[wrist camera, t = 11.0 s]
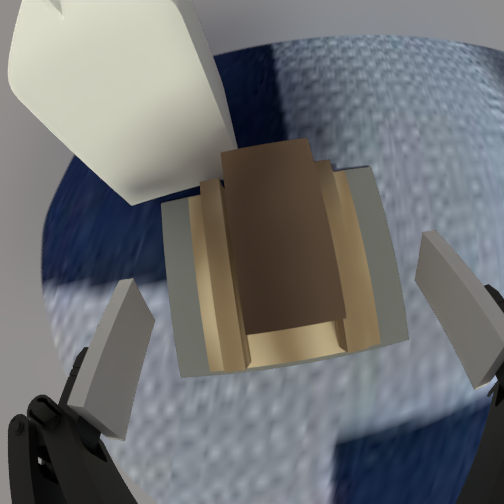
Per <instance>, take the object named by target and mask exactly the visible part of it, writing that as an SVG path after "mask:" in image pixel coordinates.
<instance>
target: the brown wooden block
mask: <svg viewBox="0 0 504 504" xmlns="http://www.w3.org/2000/svg"><path fill="white" fill-rule="evenodd" d="M220 154H221V162H222V170H223V178H224V185H225V193H226V201H227V208H228V216H229V223H230V231H231V238H232V245H233V252H234V259H235V266H236V273H237V280H238V287H239V294H240V301H241V308H242V314H243V321H244V328H245V334H246V335H252V334H259V333H266V332H273V331H279V330H285V329H291V328H297V327H303V326H309V325H314V324H320V323H325V322H330V321H335V320H340V319H345V318H347V316H346V310H345V304H344V298H343V292H342V286H341V280H340V275H339V270H338V264H337V259H336V254H335V249H334V244H333V240H332V235H331V230H330V226H329V221H328V217H327V212H326V208H325V204H324V199H323V195H322V191H321V187H320V183H319V179H318V175H317V171H316V167H315V164H314V160H313V156H312V153H311V149H310V145H309V142H308V138H301V139H294V140H287V141H280V142H274V143H268V144H262V145H256V146H251V147H245V148H240V149H235V150H230V151H225V152H220Z"/></svg>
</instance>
